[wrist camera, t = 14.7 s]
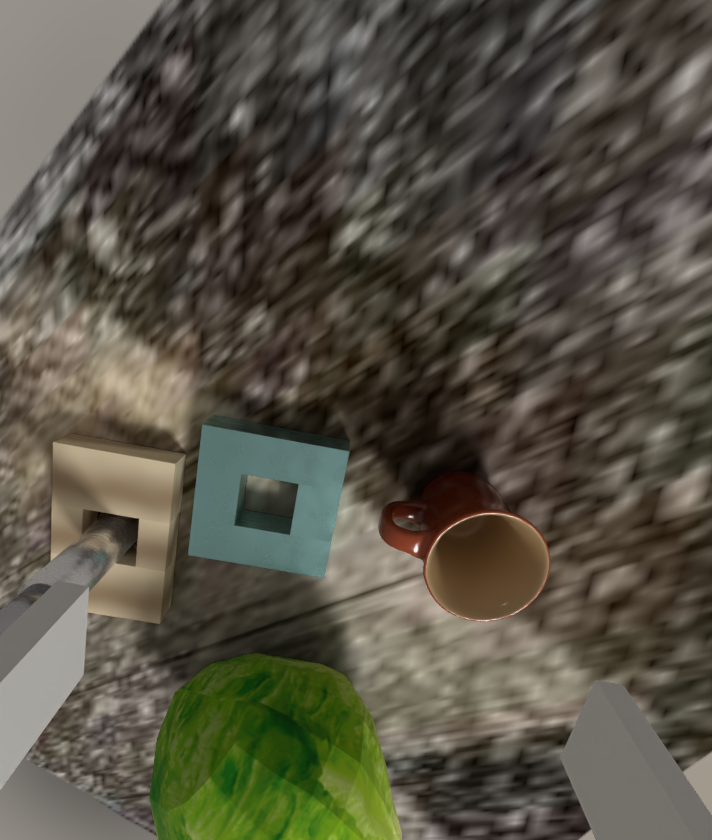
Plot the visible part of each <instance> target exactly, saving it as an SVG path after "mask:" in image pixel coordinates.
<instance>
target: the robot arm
mask: <svg viewBox="0 0 712 840" xmlns="http://www.w3.org/2000/svg"><path fill="white" fill-rule="evenodd" d="M88 597H89V586H84V585H79V584H73V583H68V582H62V581H57V582H56V583H55V584H53V585H52V586H51V587H50V588H49V589H48V590H47V591H46V592H45V593H44V594H43V595H42V596H41V597H40V598H39V599H38V600H37V601H36V602H35V603H33V604H32V605H31V606H30V607H29V608H28V609H27V610H26V611H25V612H24V613H23V614H22V615H21V616H20V617H19V618H18V619H17V620H16V621H15V622H14V623H12V624H11V625H10V626H9V627H8V628H7V629H6V630H5V631H4V632H3V633H2V634H1V635H0V790H1V788H2V787H3V785H4V784H5V783H6V781H7V780H8V779H9V777H10V776H11V774H12V773H13V772H14V770H15V769H16V767H17V766H18V765H19V763H20V762H21V761H22V759H23V758H24V756H25V755H26V754H27V752H28V751H29V750H30V748H31V747H32V745H33V744H34V743H35V741H36V740H37V738H38V737H39V736H40V734H41V733H42V732H43V730H44V729H45V727H46V726H47V725H48V723H49V722H50V721H51V719H52V718H53V716H54V715H55V714H56V712H57V711H58V709H59V708H60V707H61V705H62V704H63V703H64V701H65V700H66V698H67V697H68V696H69V694H70V693H71V691H72V690H73V689H74V687H75V686H76V685H77V683H78V682H79V680H80V679H81V678H82V676H83V675H84V660H85V644H86V628H87V613H88ZM560 759H561V761H562V763H563V765H564V768H565V770H566V772H567V775H568V777H569V779H570V781H571V784H572V786H573V788H574V791H575V793H576V795H577V797H578V800H579V802H580V804H581V807H582V809H583V811H584V813H585V816H586V818H587V820H588V823H589V825H590V827H591V829H592V831H593V834H594V836H595V839H596V840H712V815H711V814H710V812H709V811H708V809H707V808H706V806H705V805H704V803H703V802H702V800H701V799H700V797H699V796H698V794H697V793H696V791H695V790H694V788H693V787H692V786H691V784H690V783H689V781H688V780H687V778H686V777H685V775H684V774H683V772H682V771H681V769H680V768H679V766H678V765H677V763H676V762H675V761H674V759H673V758H672V756H671V755H670V753H669V752H668V750H667V749H666V747H665V746H664V744H663V743H662V741H661V740H660V738H659V737H658V736H657V734H656V733H655V731H654V730H653V728H652V727H651V725H650V724H649V722H648V721H647V719H646V718H645V716H644V715H643V713H642V712H641V711H640V709H639V708H638V706H637V705H636V703H635V702H634V700H633V699H632V697H631V696H630V694H629V693H628V691H627V690H626V688H625V687H624V686H623V685H620V684H614V683H609V682H603V681H598V680H595V682H594V685H593V687H592V689H591V691H590V693H589V696H588V698H587V700H586V702H585V704H584V707H583V709H582V711H581V713H580V715H579V718H578V720H577V722H576V724H575V726H574V728H573V731H572V733H571V735H570V737H569V739H568V742H567V744H566V746H565V748H564V750H563V753H562V755H561V757H560Z"/></svg>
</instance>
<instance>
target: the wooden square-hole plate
mask: <svg viewBox="0 0 712 840" xmlns="http://www.w3.org/2000/svg"><path fill="white" fill-rule="evenodd" d="M185 461H186V454H183V453H178V452H172V451H167V450H161V449H156V448H150V447H145V446H139V445H133V444H128V443H122V442H117V441H111V440H106V439H100V438H95V437H89V436H83V435H78V434H69V435H67V436H65V437H63V438H61V439H59V440H57V441H54V442H53V468H52V519H51V561H52V560H53V559H54V558H55V557H56V556H58V555H59V554H60V553H61V552H62V551H63V550H65V549H66V548H67V547H68V546H69V545H71V544H72V543H73V542H74V541H75V540H76V539H78V538H79V537H80V536H81V535H82V534H83V533H85V532H86V531H87V530H88V529H89V528H90V527H92V526H93V525H94V524H95V523H96V522H97V521H98V512H104V513H109V514H115V515H121V516H127V517H133V518H139V528H138V541H137V550H136V549H130V548H129V549H128V550H127V551H126V553H125V554H124V555H123V556H122V557H121V558H120V559H119V560H118V561H117V562H116V563H115V565H114V566H113V567H112V568H111V569H110V570H109V571H108V572H107V573H106V574H105V576H104V577H103V578H102V579H101V580H100V581H99V582H98V583H97V584H96V585H95V586H94V588H93V589H92V590H91V591H90V592H89V597H88V613H94V614H101V615H107V616H113V617H120V618H126V619H132V620H138V621H145V622H151V623H157V624H160V623H161V621H162V620H163V618H164V616H165V615H166V613H167V611H168V610H169V608H170V606H171V599H172V589H173V579H174V570H175V560H176V550H177V540H178V530H179V520H180V511H181V501H182V491H183V481H184V471H185Z"/></svg>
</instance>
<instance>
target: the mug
mask: <svg viewBox="0 0 712 840" xmlns="http://www.w3.org/2000/svg"><path fill="white" fill-rule="evenodd" d="M393 519H405V520H408V521H410V522H412V523H414V524H416V525H418V526H419V529H420V531H410V530H406V529H404V528H401V527H399V526H397V525H396V524H395V523H394V522H393ZM378 528H379V533H380V536H381V538H382V539H383V540H384V541H385V542H386V543H387V544H388V545H390V546H391V547H393V548H395V549H398V550H401V551H404V552H407V553H409V554H411V555H412V556H414V557H417V558H419V559H422V560H423V562H424V566H423V575H424V579H425V582H426V585H427V588H428V590H429V592H430V594H431V595H432V597H433V598H434V600H435V601H436V602H437V603H438V604H439V605H440V606H441V607H442V608H443V609H445V610H446V611H448V612H449V613H451V614H453V615H455V616H457V617H460V618H463V619H466V620H471V621H494V620H499V619H503V618H506V617H509V616H511V615H514V614H516V613H518V612H519V611H521V610H523V609H524V608H525V607H527V606H528V605H529V604H530V603H531V602H532V601H533V600H534V599H535V598H536V597H537V596H538V595H539V593H540V592H541V590H542V589H543V587H544V585H545V583H546V581H547V578H548V575H549V570H550V554H549V549H548V546H547V543H546V541H545V539H544V537H543V536H542V534H541V533H540V532H539V530H538V529H537V528H536V527H535V526H534V525H533V524H532V523H530V522H529V521H528V520H526V519H524V518H523V517H521V516H519V515H517V514H514V513H512V512H511V511H510V509H509V508H508V506H507V505H506V503H505V502H504V500H503V499H502V498H501V496H500V494H499V493H498V491H497V490H496V489H495V488H494V487H493V486H492V485H491V484H490V483H488V482H487V481H485V480H483V479H482V478H481V477H479V476H477V475H475V474H473V473H470V472H466V471H452V472H448V473H444V474H442V475H440V476H438V477H436V478H435V479H433V480H432V481H431V482H429V483H428V484H427V485H426V487H425V488H424V490H423V492H422V494H421V496H420V499H419V500H407V501H395V502H391V503H389V504H387V505H386V506H385V507H384V509H383V510H382V512H381V515H380V518H379V525H378Z"/></svg>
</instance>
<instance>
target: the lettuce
mask: <svg viewBox="0 0 712 840" xmlns="http://www.w3.org/2000/svg"><path fill="white" fill-rule="evenodd" d="M150 802H151V808H152V813H153V818H154V823H155V828H156V833H157V839H158V840H401V839H402V833H401V829H400V825H399V821H398V817H397V814H396V810H395V806H394V802H393V799H392V795H391V789H390V784H389V778H388V772H387V768H386V764H385V760H384V757H383V753H382V750H381V746H380V743H379V739H378V736H377V732H376V729H375V726H374V722H373V719H372V716H371V714H370V713H369V711H368V709H367V708H366V706H365V705H364V703H363V702H362V700H361V699H360V697H359V695H358V694H357V692H356V691H355V689H354V688H353V686H352V684H351V683H350V681H349V680H348V678H347V677H346V675H345V674H343V673H340V672H338V671H336V670H334V669H332V668H330V667H328V666H325V665H323V664H320V663H314V662H308V661H303V660H297V659H292V658H286V657H281V656H270V655H266V654H261V653H255V654H246V655H242V656H238V657H235V658H231V659H227V660H223V661H219V662H215V663H212V664H210V665H208V666H207V667H205V668H204V669H202V670H201V671H200V672H199V673H198V674H196V675H195V676H194V677H193V678H192V679H191V680H189V681H188V682H187V683H186V684H185V685H183V686H182V687H181V688H180V689H179V690H178V691H176V692H175V694H174V696H173V699H172V701H171V704H170V706H169V709H168V711H167V714H166V716H165V719H164V721H163V724H162V726H161V729H160V732H159V735H158V737H157V743H156V751H155V759H154V766H153V774H152V782H151V790H150Z"/></svg>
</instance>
